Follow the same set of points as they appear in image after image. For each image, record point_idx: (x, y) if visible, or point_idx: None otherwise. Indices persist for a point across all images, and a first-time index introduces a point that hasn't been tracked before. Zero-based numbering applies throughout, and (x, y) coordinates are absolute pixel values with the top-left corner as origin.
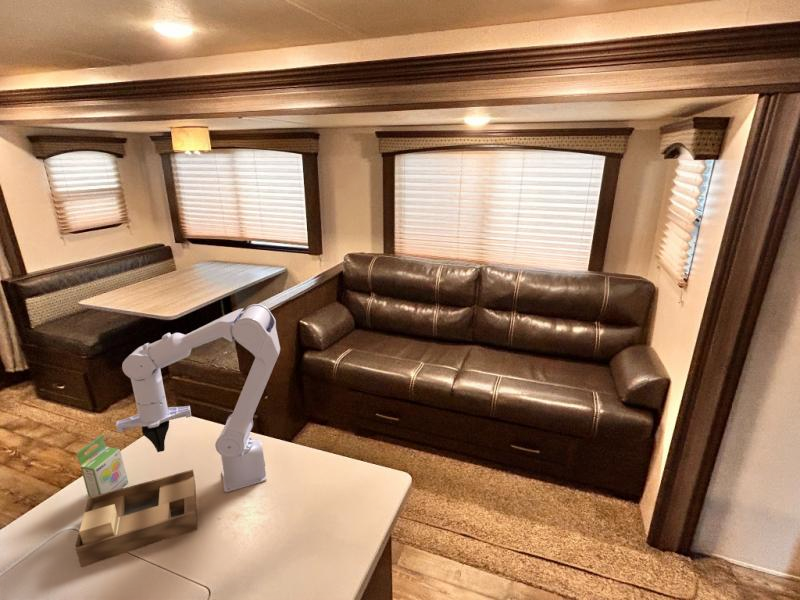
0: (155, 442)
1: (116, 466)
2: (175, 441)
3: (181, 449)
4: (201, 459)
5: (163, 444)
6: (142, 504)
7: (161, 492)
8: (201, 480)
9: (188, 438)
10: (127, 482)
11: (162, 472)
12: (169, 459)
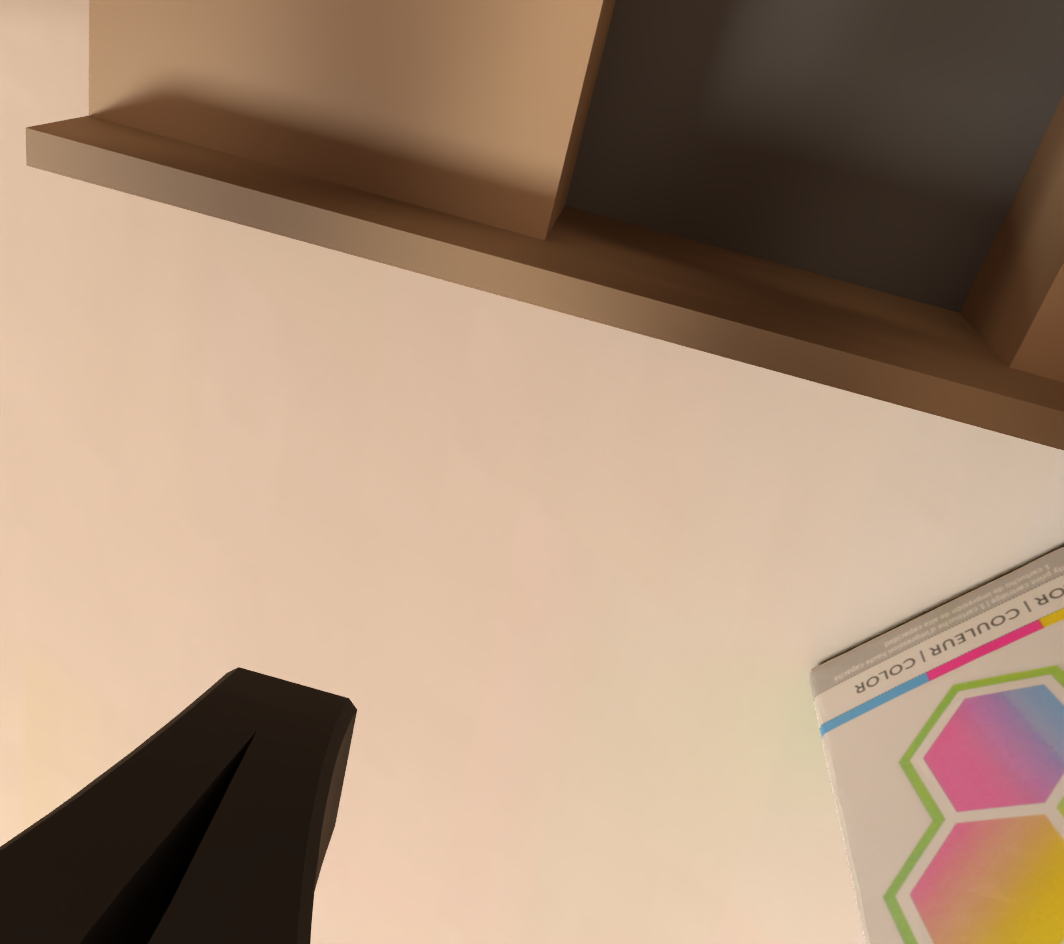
0: (219, 929)
1: (979, 879)
2: None
3: None
4: (96, 523)
5: (111, 772)
6: (807, 180)
7: (561, 43)
8: None
9: None
10: (819, 667)
11: (483, 592)
12: (388, 725)
